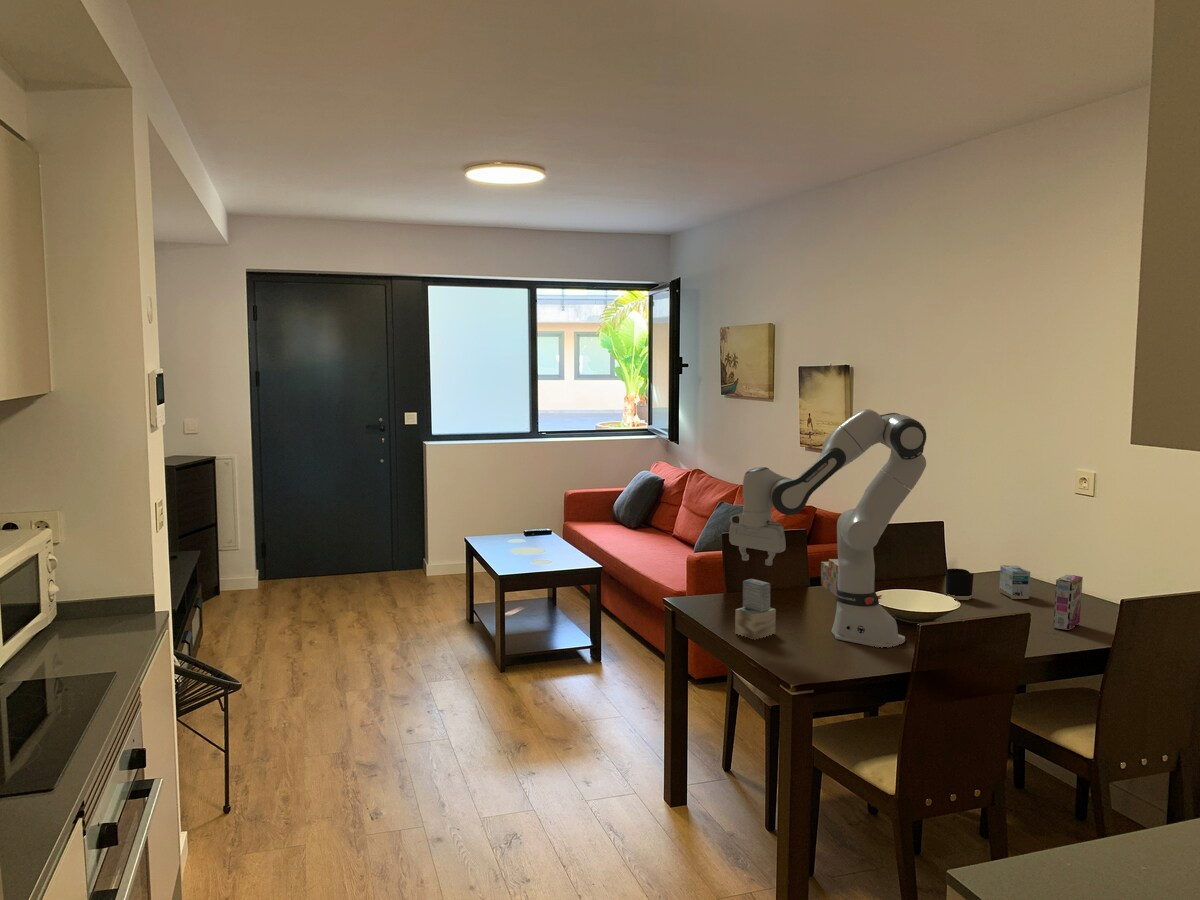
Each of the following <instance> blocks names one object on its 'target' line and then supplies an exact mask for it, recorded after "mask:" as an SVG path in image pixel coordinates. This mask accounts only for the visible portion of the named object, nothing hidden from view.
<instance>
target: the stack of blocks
mask: <svg viewBox="0 0 1200 900" xmlns="http://www.w3.org/2000/svg"><path fill="white" fill-rule="evenodd" d="M820 585H821V586H822V587H823V588H824V587H825V590H827V589H828V590H829V591H830V592H829V591H828V590H827V591H828V592H829V593H831V592H832V593H833V594H834V595H835V596H836V589H837V588H838V558H829V559H828V561H820ZM832 593H831V594H832ZM833 594H832V595H833ZM834 595H833V596H834ZM835 596H834V597H835Z"/></svg>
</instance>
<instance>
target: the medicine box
mask: <svg viewBox="0 0 1200 900" xmlns="http://www.w3.org/2000/svg"><path fill="white" fill-rule="evenodd" d="M743 607H745V608H749V609H753V610H756V611H760V612H764V611H767V610H770V607H771V583H770V582H766V581H764V580H763V581H762V580H759V579H754V578H749V579H745V580H743V581H742V608H743Z"/></svg>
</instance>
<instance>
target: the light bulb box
mask: <svg viewBox="0 0 1200 900" xmlns="http://www.w3.org/2000/svg"><path fill="white" fill-rule="evenodd" d="M999 568H1000V569H999V570H1000V572H999V589H1000V588H1001V589H1003V590H1004V591H1006V592H1007V593H1009V594H1011V595H1015V596H1016V595H1017V596H1029V597H1030V596H1031V595H1030V589H1031V585H1030V584H1031V571H1030V570H1028V569H1026V568H1023V567H1020V566H1019V565H1011V564H1009V565H1006V564H1000V567H999Z"/></svg>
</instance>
